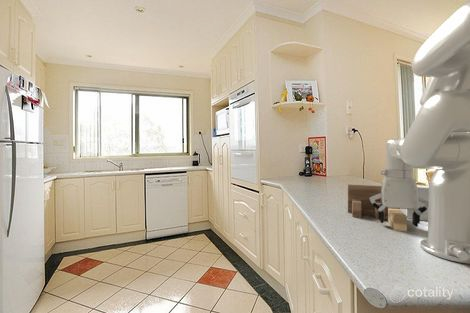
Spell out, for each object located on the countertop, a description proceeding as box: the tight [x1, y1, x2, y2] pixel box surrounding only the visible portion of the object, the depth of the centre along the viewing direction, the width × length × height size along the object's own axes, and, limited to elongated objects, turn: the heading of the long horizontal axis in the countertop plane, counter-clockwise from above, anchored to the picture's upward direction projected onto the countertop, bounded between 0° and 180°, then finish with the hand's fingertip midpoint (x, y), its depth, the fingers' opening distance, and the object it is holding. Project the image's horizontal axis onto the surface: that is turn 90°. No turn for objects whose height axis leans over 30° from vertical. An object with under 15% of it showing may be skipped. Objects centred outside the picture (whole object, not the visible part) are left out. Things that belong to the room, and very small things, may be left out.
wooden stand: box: [347, 183, 387, 221], centre depth 91 cm, size 8×14×12 cm, turn 65°
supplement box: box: [405, 184, 429, 222], centre depth 88 cm, size 7×7×13 cm
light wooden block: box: [385, 207, 408, 232], centre depth 80 cm, size 12×4×5 cm, turn 155°
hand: (397, 223), depth 78 cm, fingers open, 9 cm apart
